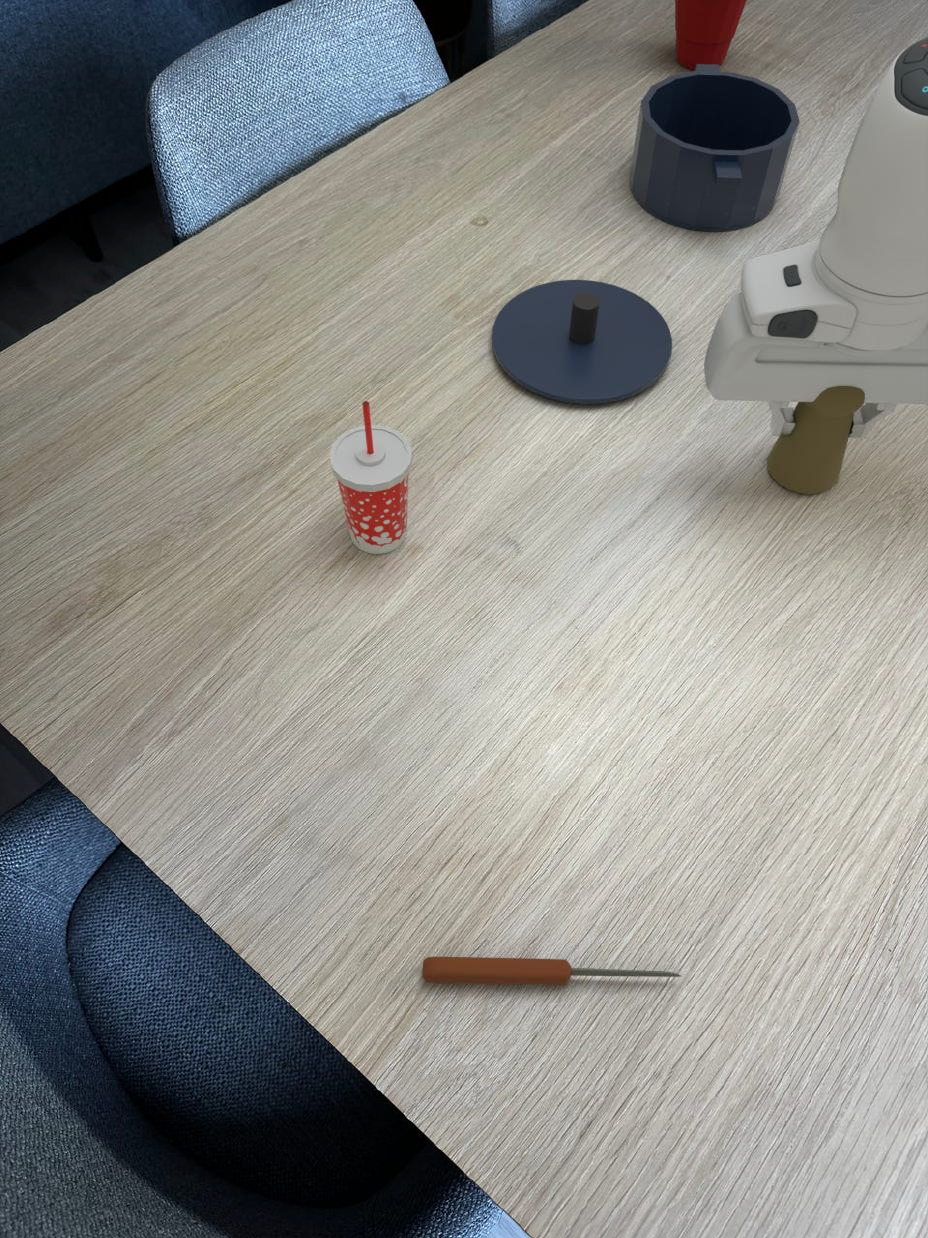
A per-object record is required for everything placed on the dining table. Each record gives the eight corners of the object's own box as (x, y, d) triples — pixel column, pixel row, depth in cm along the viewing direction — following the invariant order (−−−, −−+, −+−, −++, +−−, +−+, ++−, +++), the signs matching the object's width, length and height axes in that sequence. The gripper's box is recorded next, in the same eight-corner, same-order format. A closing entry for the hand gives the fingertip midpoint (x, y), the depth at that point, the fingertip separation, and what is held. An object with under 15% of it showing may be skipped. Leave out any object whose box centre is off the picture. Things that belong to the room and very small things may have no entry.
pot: (763, 135, 117) (782, 58, 110) (790, 249, 105) (814, 172, 98) (624, 131, 117) (635, 55, 110) (636, 245, 105) (649, 168, 98)
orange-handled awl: (422, 985, 63) (421, 976, 62) (423, 963, 64) (422, 953, 63) (680, 992, 63) (686, 982, 62) (678, 969, 64) (683, 959, 62)
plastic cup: (653, 34, 130) (669, -73, 120) (740, 39, 129) (763, -68, 120) (653, 79, 124) (670, -30, 114) (744, 84, 123) (769, -25, 113)
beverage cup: (401, 569, 81) (392, 443, 70) (329, 551, 82) (308, 423, 71) (426, 512, 85) (421, 383, 73) (356, 496, 86) (340, 365, 74)
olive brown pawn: (786, 430, 90) (822, 329, 81) (851, 460, 88) (895, 360, 79) (754, 473, 87) (788, 373, 78) (821, 505, 85) (863, 406, 76)
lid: (663, 291, 101) (672, 245, 97) (677, 411, 92) (688, 366, 87) (493, 287, 101) (494, 240, 97) (489, 406, 92) (491, 361, 88)
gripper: (1008, 264, 74) (936, 406, 86) (722, 259, 75) (688, 401, 86) (1033, 323, 71) (954, 463, 82) (732, 317, 71) (695, 457, 83)
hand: (816, 431), depth 84 cm, fingers closed on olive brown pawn, 4 cm apart
